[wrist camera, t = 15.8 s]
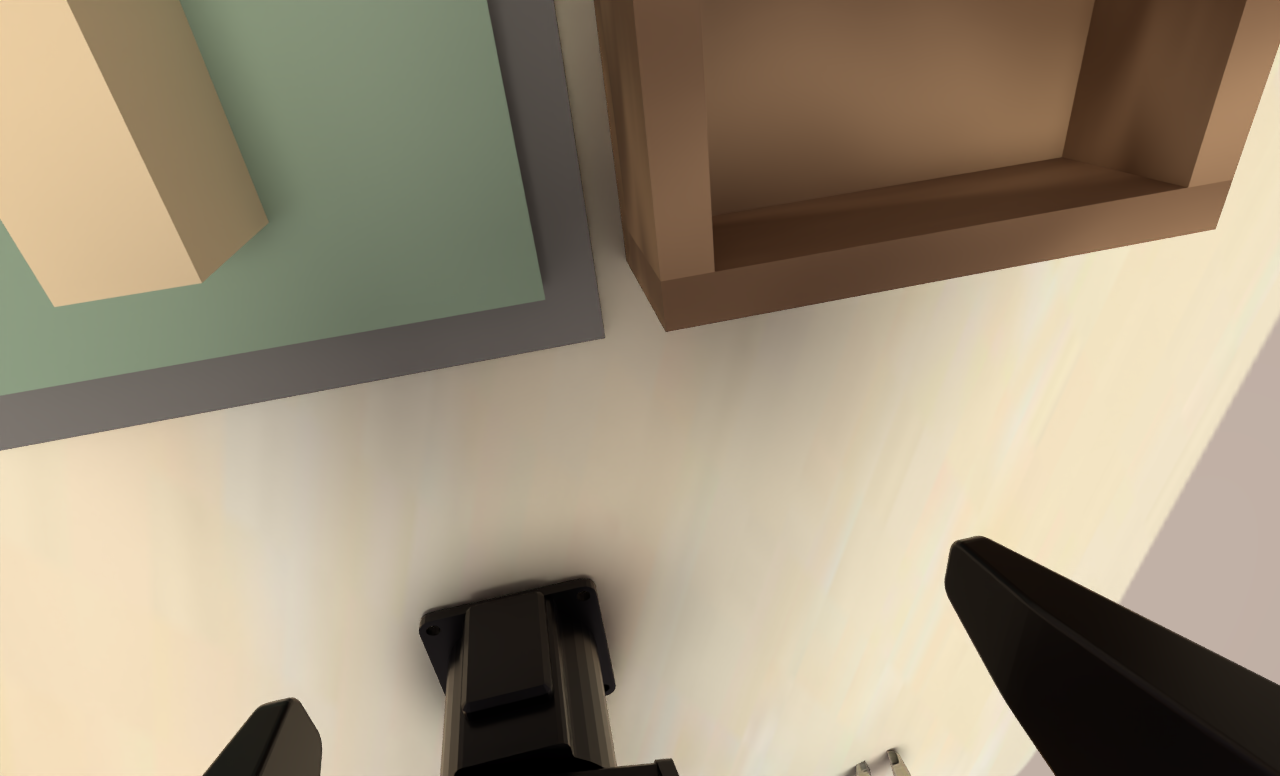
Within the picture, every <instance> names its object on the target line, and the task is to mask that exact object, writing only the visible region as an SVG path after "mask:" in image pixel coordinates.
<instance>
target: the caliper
mask: <svg viewBox="0 0 1280 776" xmlns="http://www.w3.org/2000/svg"><path fill="white" fill-rule="evenodd" d="M887 753H888V757H889V760H890V763H891V767H892V771H893V775H894V776H911V775H910V773H909V771H908V769H907V767H906V766H905V764H904V762H903V761H902V759H901V757H900V755H899V754H898V753H896V752H894V751H887ZM856 776H871V773H870V769H869V767H868V765H867V764H866V762H865V761H863V762H861V763H859V764H857V765H856Z"/></svg>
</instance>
